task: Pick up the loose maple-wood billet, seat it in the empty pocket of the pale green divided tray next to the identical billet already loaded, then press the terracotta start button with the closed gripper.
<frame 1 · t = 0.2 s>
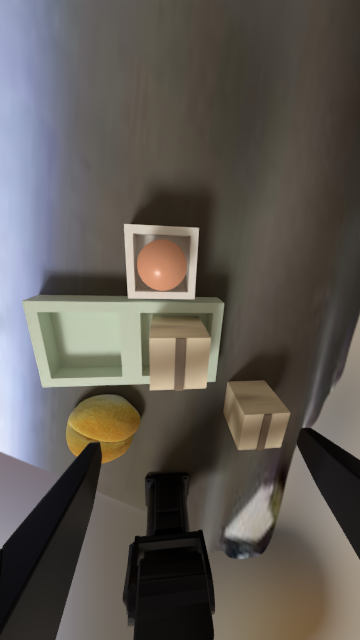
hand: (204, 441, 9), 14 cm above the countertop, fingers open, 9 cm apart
start button: (162, 265, 15), point 4 cm above the countertop, slide at 0.0 cm
bread roll: (107, 418, 26), on the countertop
button housing: (161, 261, 19), on the countertop
loaded billet: (174, 337, 22), resting on pale green divided tray
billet: (243, 396, 26), on the countertop
pale green divided tray: (133, 336, 22), on the countertop
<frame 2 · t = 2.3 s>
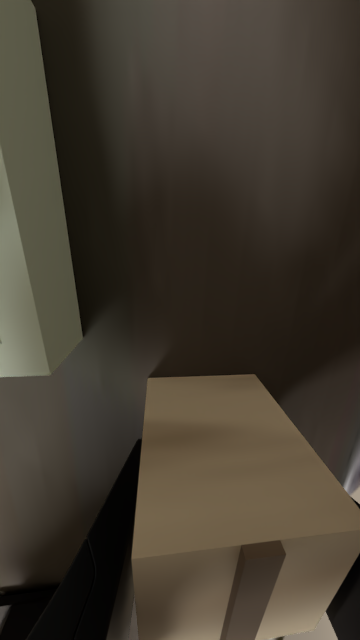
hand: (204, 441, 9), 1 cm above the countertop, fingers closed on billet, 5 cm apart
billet: (199, 418, 10), on the countertop, touching gripper
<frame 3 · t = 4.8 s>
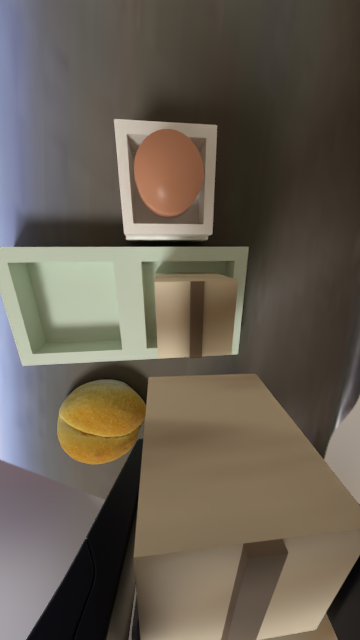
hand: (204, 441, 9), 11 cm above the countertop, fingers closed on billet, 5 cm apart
start button: (168, 179, 11), point 5 cm above the countertop, slide at 0.0 cm
bread roll: (106, 410, 22), on the countertop
button housing: (165, 199, 15), on the countertop
loaded billet: (185, 301, 18), resting on pale green divided tray
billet: (200, 417, 10), point 10 cm above the countertop, touching gripper
pale green divided tray: (134, 301, 18), on the countertop
when the fingers open (3 cm above the countertop, at t = 7.3 s): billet drops 1 cm, resting on pale green divided tray.
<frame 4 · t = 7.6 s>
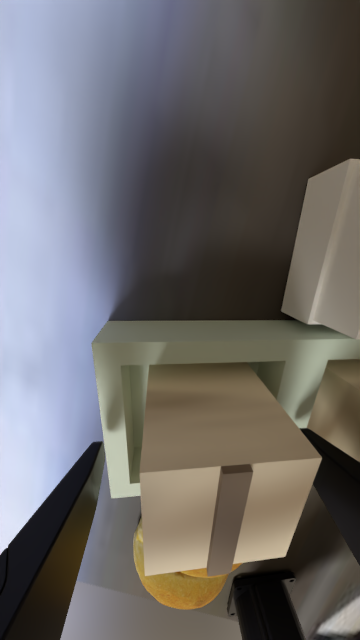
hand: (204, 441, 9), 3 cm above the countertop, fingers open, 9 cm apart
bread roll: (189, 512, 16), on the countertop
button housing: (349, 253, 10), on the countertop
loaded billet: (338, 391, 12), resting on pale green divided tray
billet: (194, 397, 11), resting on pale green divided tray
pale green divided tray: (264, 388, 12), on the countertop
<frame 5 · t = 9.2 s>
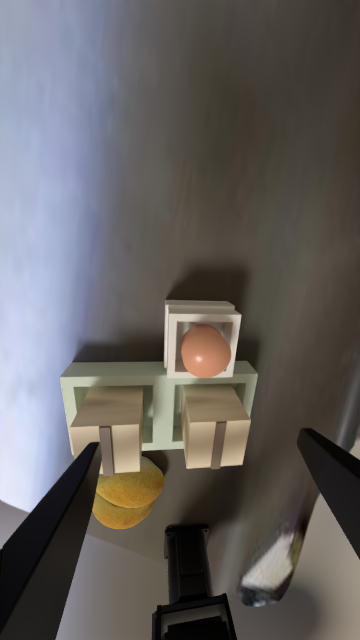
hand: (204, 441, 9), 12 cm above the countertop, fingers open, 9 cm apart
start button: (204, 350, 15), point 5 cm above the countertop, slide at 0.0 cm
bread roll: (129, 476, 25), on the countertop
button housing: (194, 330, 20), on the countertop
loaded billet: (203, 399, 22), resting on pale green divided tray
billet: (120, 401, 21), resting on pale green divided tray
pale green divided tray: (162, 397, 22), on the countertop
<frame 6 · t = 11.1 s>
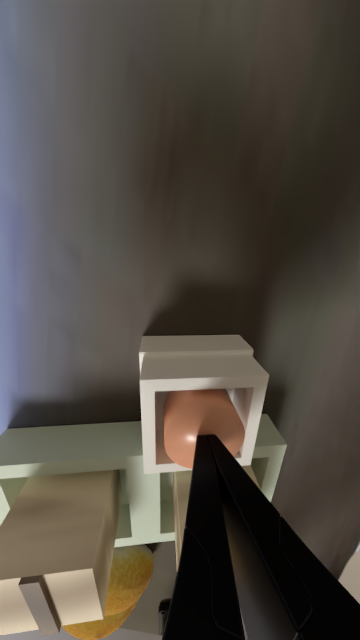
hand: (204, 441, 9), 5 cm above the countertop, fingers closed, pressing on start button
start button: (200, 421, 10), point 4 cm above the countertop, slide at 0.9 cm, touching gripper
bread roll: (108, 553, 19), on the countertop
button housing: (189, 377, 13), on the countertop
loaded billet: (205, 467, 15), resting on pale green divided tray
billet: (84, 477, 14), resting on pale green divided tray
pale green divided tray: (147, 465, 15), on the countertop
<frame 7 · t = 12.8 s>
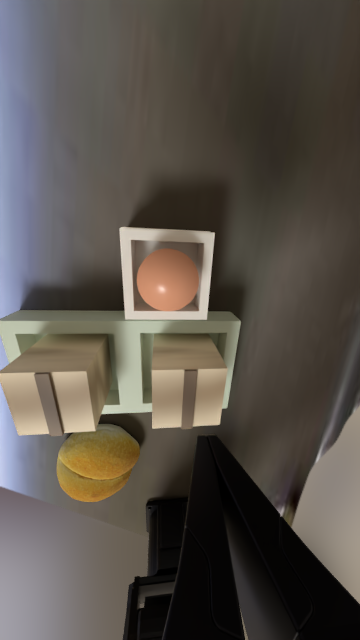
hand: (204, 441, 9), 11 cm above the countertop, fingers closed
start button: (167, 279, 12), point 4 cm above the countertop, slide at 0.3 cm
bread roll: (103, 447, 23), on the countertop
button housing: (165, 270, 16), on the countertop
loaded billet: (180, 357, 19), resting on pale green divided tray
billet: (81, 358, 18), resting on pale green divided tray
pale green divided tray: (133, 355, 19), on the countertop
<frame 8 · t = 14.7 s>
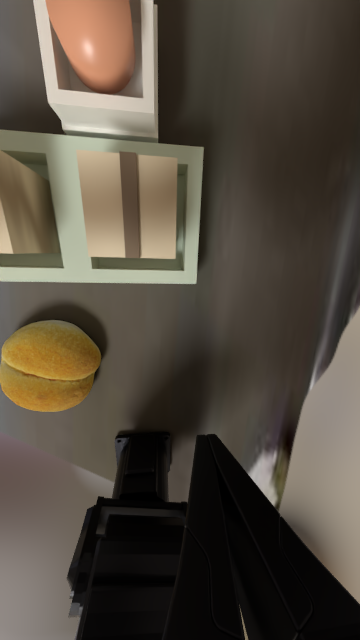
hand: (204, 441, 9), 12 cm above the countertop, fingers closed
start button: (95, 30, 10), point 4 cm above the countertop, slide at 0.3 cm
bread roll: (60, 359, 20), on the countertop
button housing: (114, 95, 14), on the countertop
loaded billet: (139, 223, 16), resting on pale green divided tray
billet: (20, 217, 15), resting on pale green divided tray
pale green divided tray: (84, 221, 16), on the countertop
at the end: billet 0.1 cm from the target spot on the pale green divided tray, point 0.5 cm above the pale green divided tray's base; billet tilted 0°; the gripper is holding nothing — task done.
